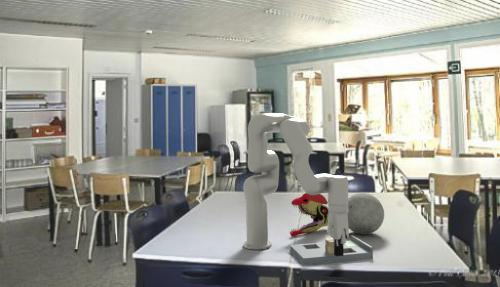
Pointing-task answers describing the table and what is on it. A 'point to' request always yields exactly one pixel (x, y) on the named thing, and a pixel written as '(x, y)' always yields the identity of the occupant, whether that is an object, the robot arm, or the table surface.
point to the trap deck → (317, 254)
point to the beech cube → (329, 246)
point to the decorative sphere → (364, 213)
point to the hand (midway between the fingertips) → (338, 255)
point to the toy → (311, 212)
